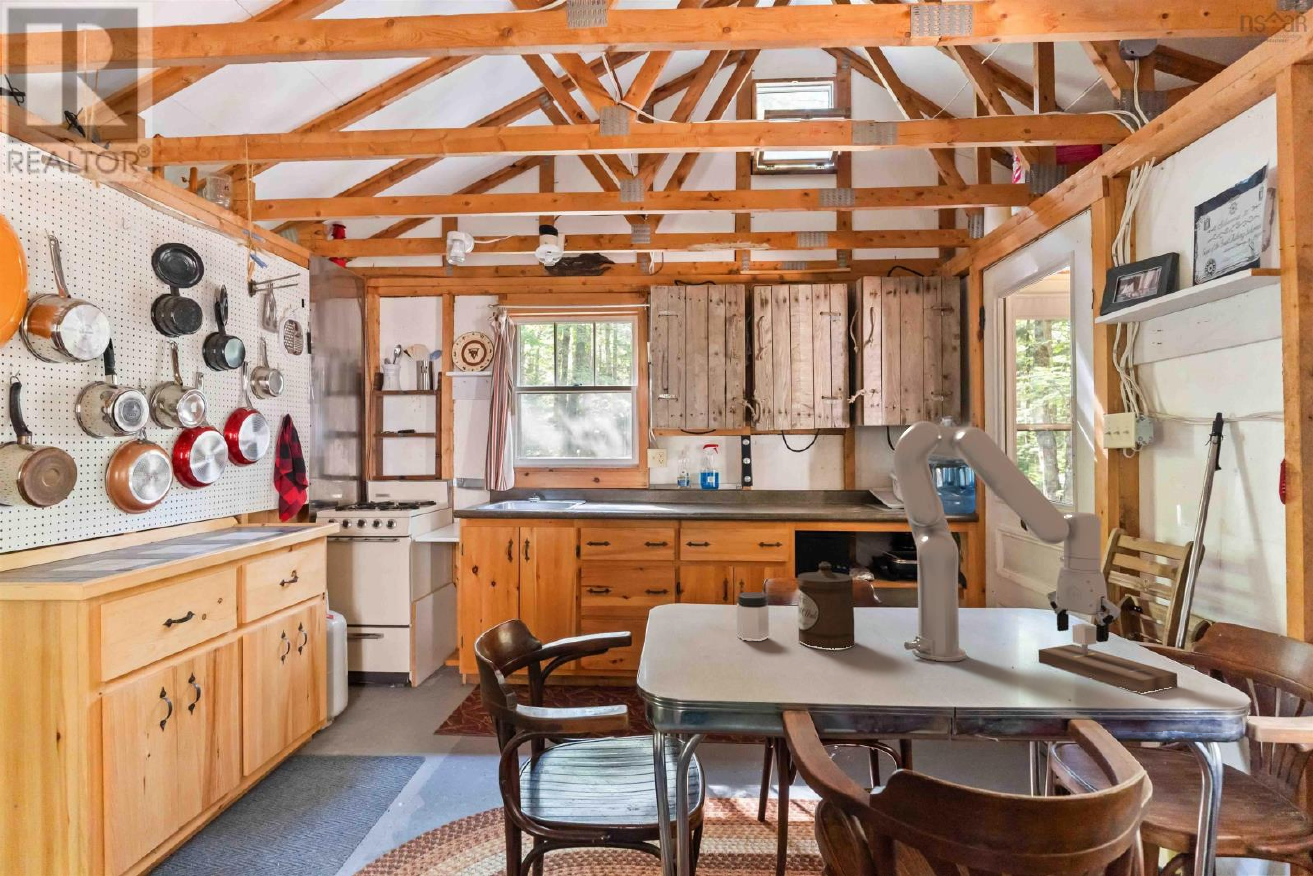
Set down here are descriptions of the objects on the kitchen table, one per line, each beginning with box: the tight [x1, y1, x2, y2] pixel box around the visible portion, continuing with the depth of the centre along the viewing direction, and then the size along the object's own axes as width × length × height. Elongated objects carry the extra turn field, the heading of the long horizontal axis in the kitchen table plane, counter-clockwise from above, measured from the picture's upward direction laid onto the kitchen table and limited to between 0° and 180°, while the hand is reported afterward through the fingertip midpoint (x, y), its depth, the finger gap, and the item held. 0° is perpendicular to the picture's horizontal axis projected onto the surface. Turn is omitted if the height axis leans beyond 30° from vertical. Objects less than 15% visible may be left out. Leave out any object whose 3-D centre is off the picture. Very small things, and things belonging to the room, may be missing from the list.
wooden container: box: [797, 561, 855, 649], centre depth 179 cm, size 15×15×22 cm
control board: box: [1038, 644, 1178, 693], centre depth 153 cm, size 12×24×3 cm, turn 22°
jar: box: [736, 591, 770, 639], centre depth 185 cm, size 9×8×12 cm
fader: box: [1072, 623, 1098, 655], centre depth 157 cm, size 4×3×7 cm
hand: (1082, 635), depth 157 cm, fingers open, 9 cm apart
